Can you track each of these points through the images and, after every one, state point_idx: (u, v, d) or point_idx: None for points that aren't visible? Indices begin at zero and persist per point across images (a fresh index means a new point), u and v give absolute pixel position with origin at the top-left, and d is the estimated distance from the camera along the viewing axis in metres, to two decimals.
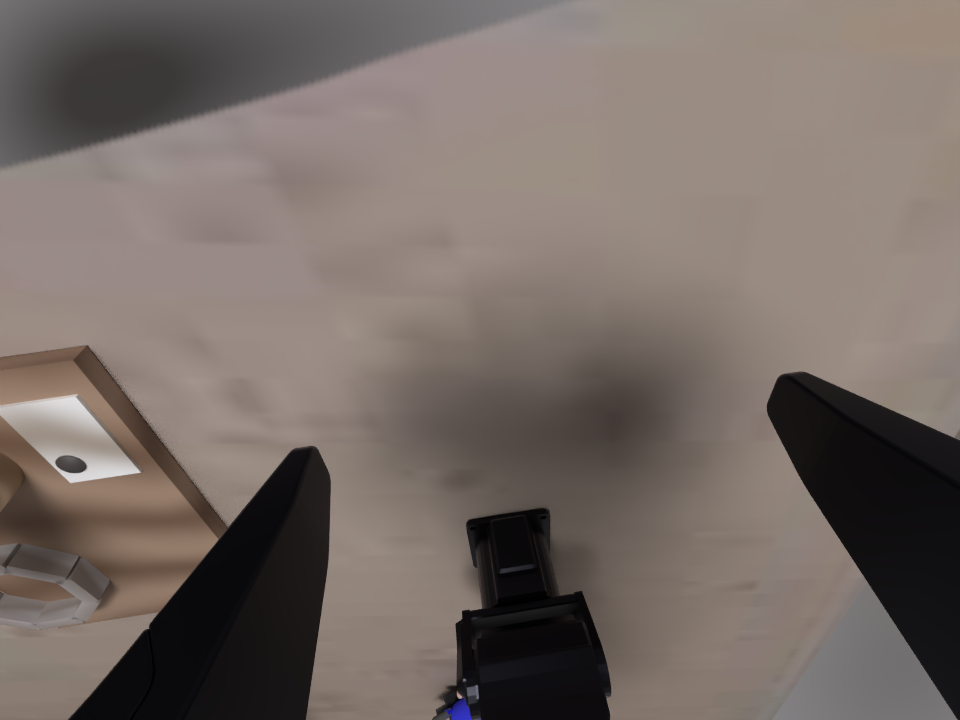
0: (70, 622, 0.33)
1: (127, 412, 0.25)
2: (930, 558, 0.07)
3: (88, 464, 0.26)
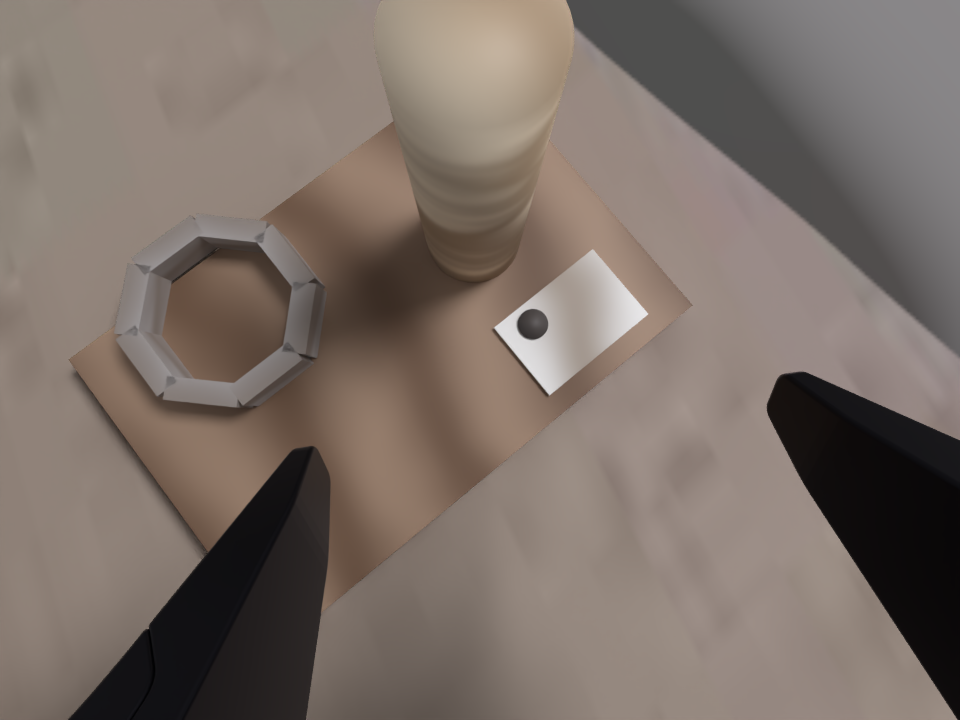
0: (153, 377, 0.20)
1: None
2: (930, 558, 0.07)
3: (540, 340, 0.21)
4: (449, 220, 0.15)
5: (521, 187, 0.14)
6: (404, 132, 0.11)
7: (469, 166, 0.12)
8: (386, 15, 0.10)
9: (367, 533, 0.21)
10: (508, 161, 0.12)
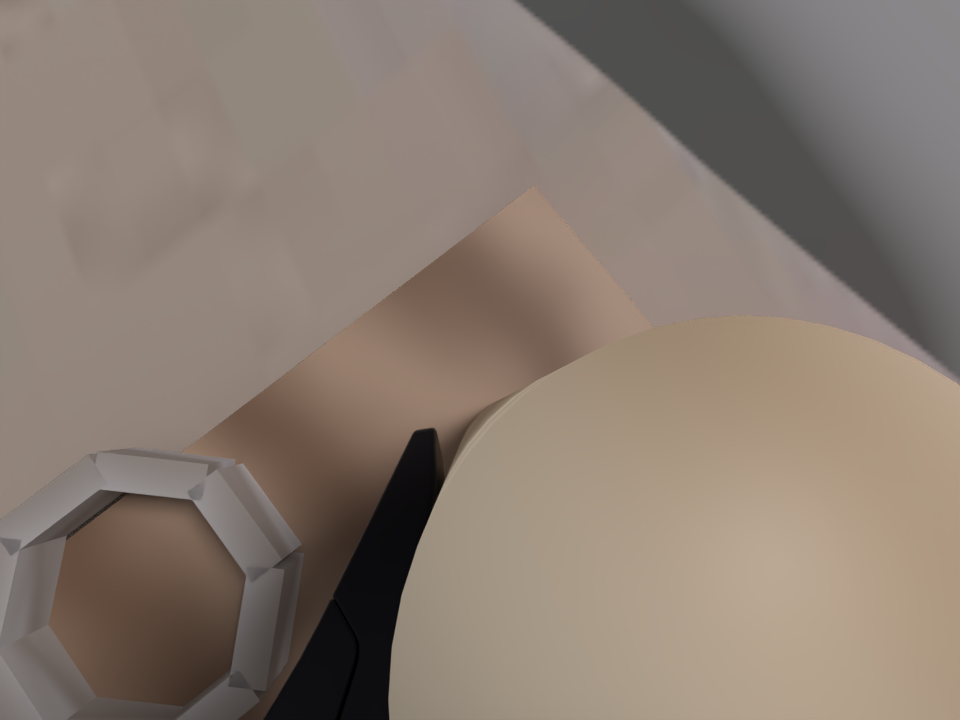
0: None
1: None
2: None
3: None
4: None
5: None
6: None
7: None
8: (437, 616, 0.03)
9: None
10: None
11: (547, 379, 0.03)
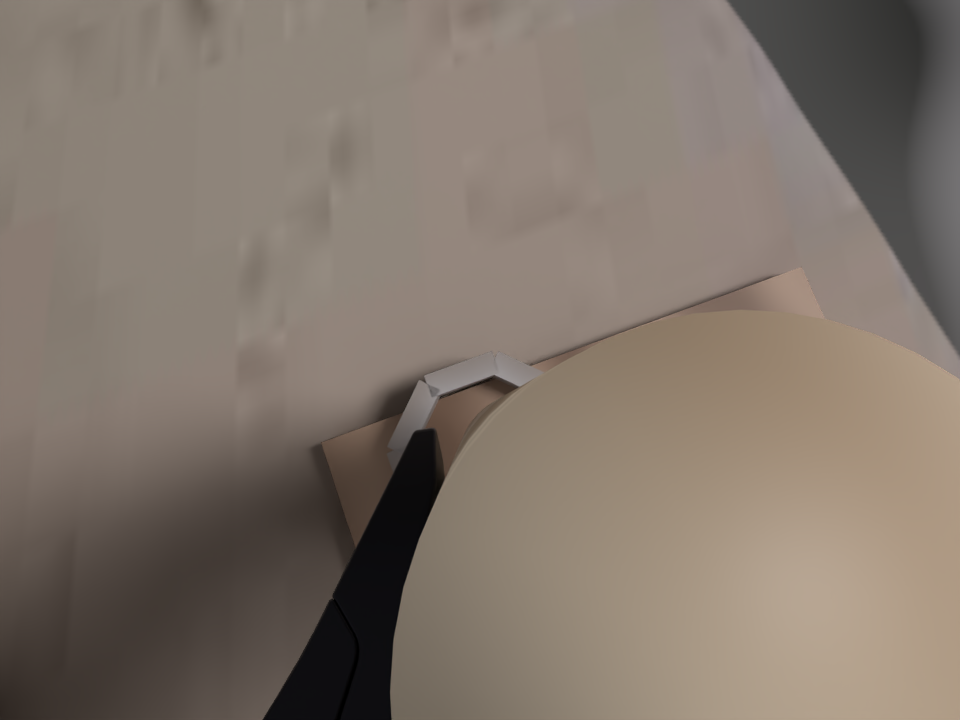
0: None
1: None
2: None
3: None
4: None
5: None
6: None
7: None
8: (439, 609, 0.03)
9: None
10: None
11: (548, 373, 0.03)
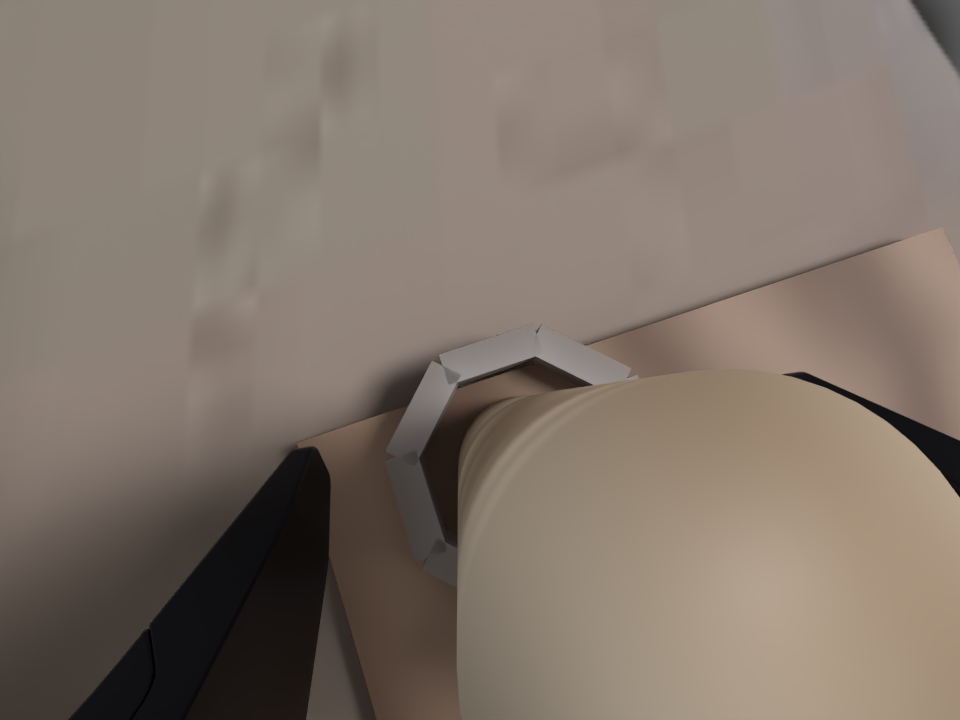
0: (419, 533, 0.14)
1: None
2: None
3: None
4: None
5: None
6: None
7: None
8: (494, 602, 0.04)
9: None
10: None
11: (576, 418, 0.04)
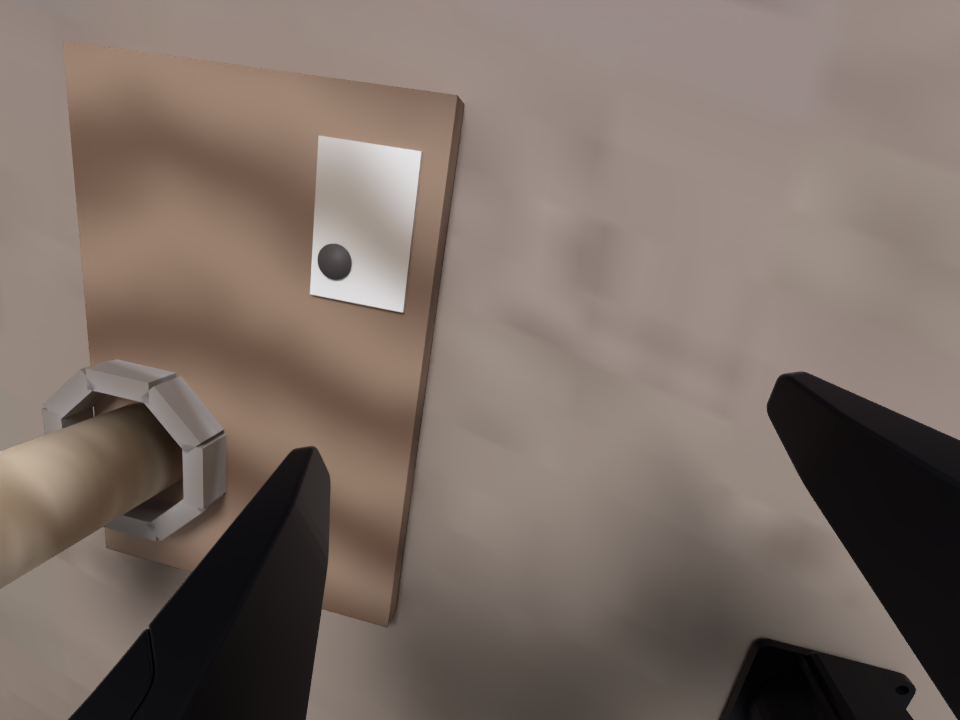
0: (141, 531, 0.22)
1: (445, 216, 0.18)
2: (930, 558, 0.07)
3: (353, 270, 0.18)
4: (24, 573, 0.16)
5: None
6: None
7: None
8: None
9: (372, 522, 0.22)
10: None
11: None
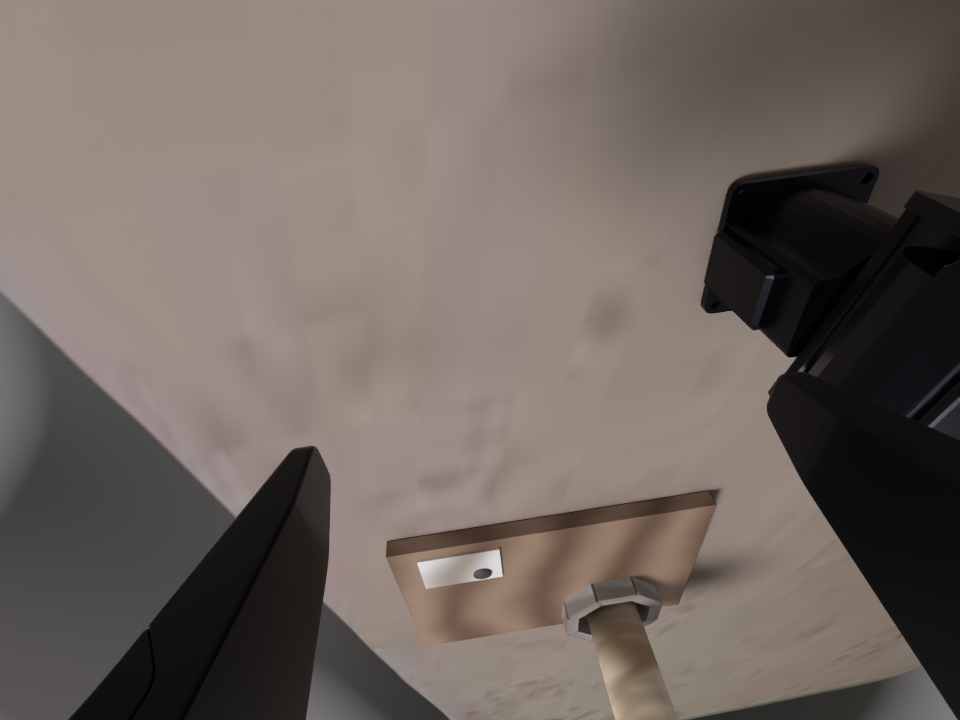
0: (656, 608, 0.40)
1: (443, 540, 0.34)
2: (930, 558, 0.07)
3: (484, 567, 0.35)
4: (657, 680, 0.35)
5: (636, 708, 0.34)
6: None
7: None
8: None
9: (635, 527, 0.34)
10: None
11: None
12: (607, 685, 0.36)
